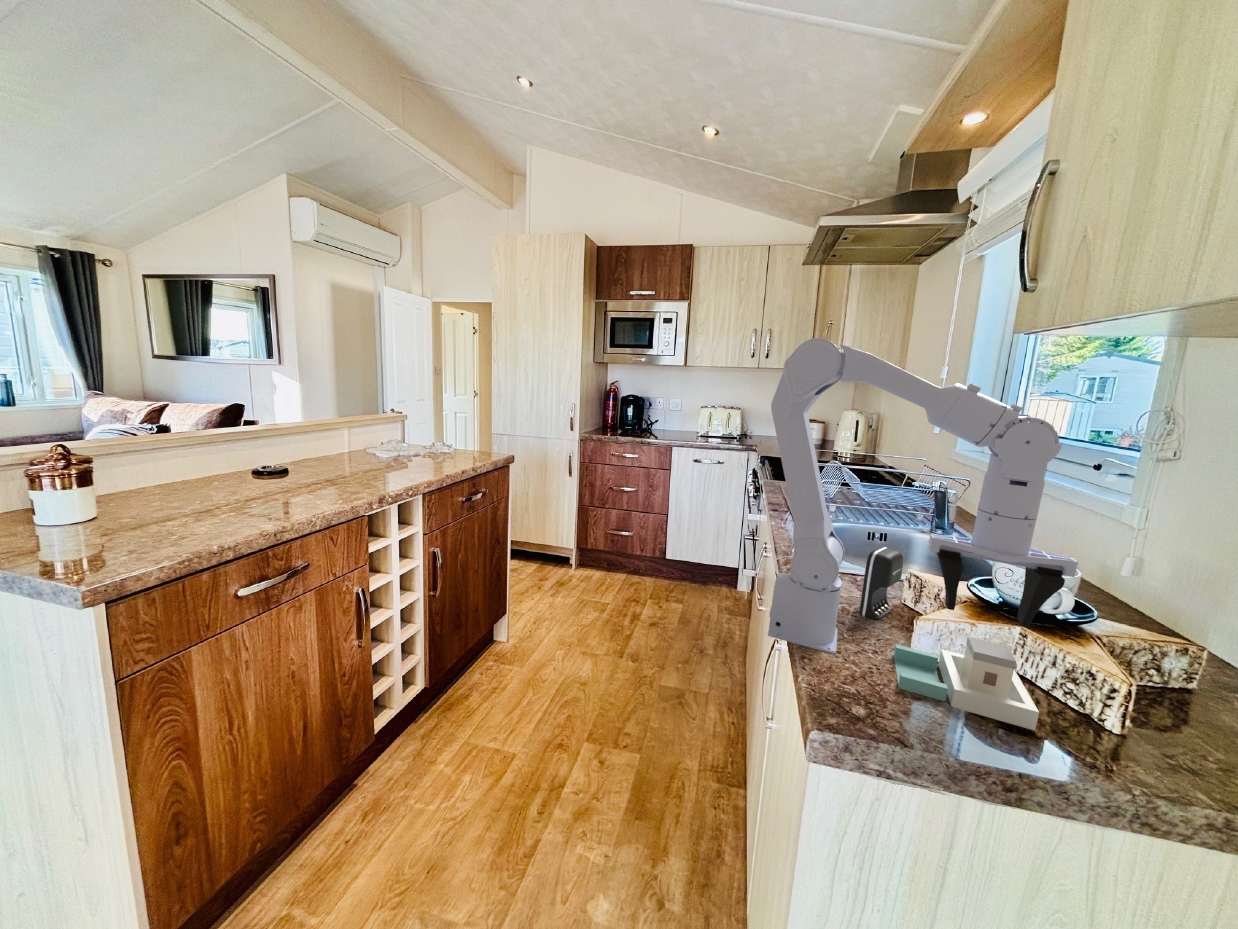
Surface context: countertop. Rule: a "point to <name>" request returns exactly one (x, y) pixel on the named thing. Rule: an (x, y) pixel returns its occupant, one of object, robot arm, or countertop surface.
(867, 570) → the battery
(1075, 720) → the countertop surface
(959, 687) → the tray
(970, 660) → the block
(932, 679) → the holder
